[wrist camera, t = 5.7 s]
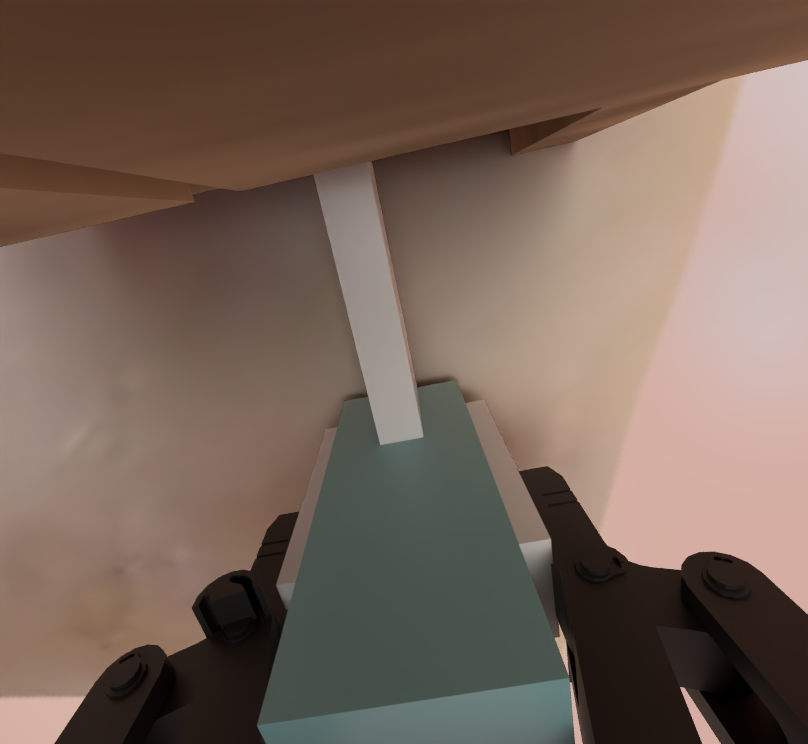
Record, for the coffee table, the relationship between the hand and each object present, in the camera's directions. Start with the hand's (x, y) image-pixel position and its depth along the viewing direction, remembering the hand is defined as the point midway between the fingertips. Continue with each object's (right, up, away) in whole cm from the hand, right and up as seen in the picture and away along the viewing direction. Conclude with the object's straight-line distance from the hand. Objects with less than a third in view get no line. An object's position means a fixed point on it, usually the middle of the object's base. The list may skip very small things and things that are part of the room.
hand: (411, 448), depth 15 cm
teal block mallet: (-1, +6, -1) cm, 6 cm away
